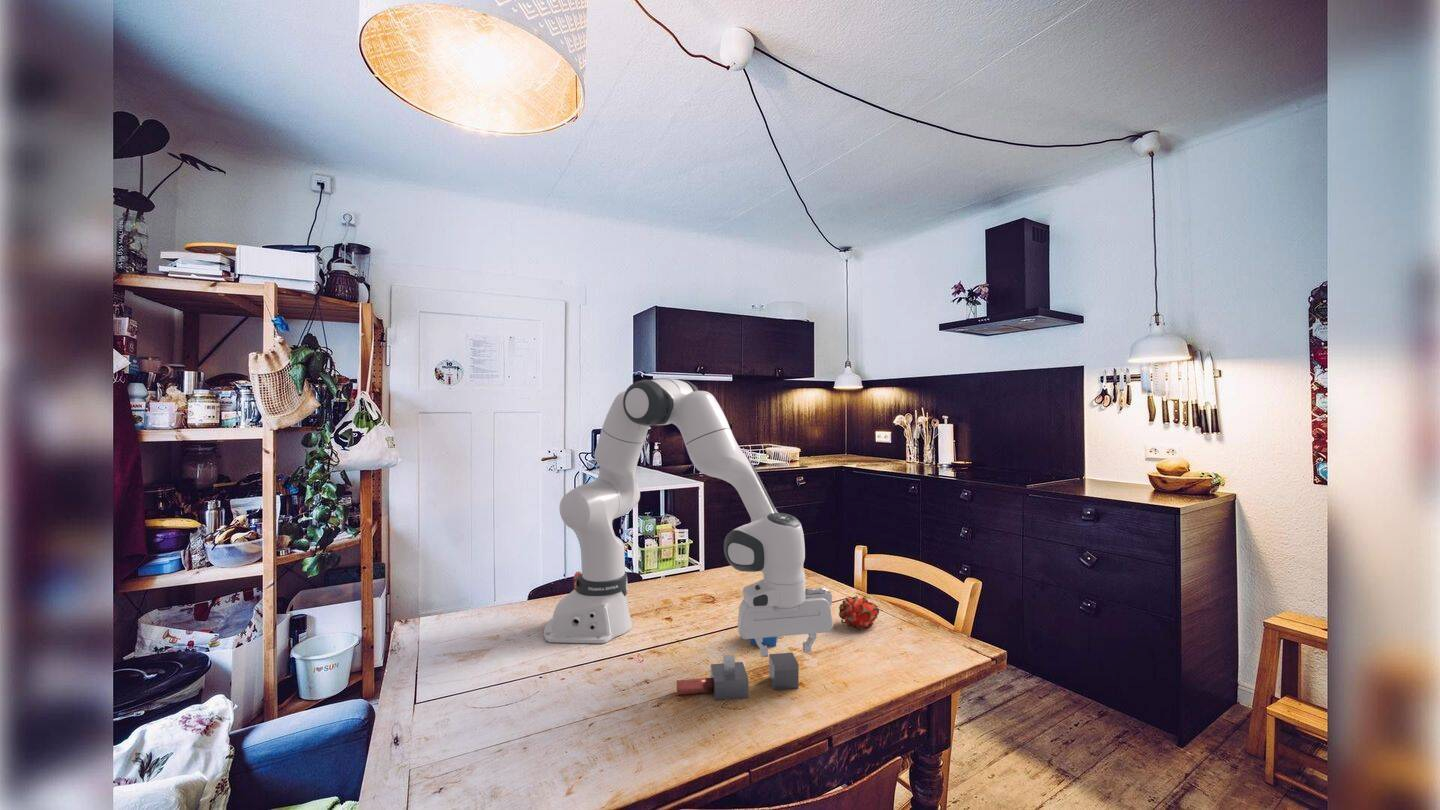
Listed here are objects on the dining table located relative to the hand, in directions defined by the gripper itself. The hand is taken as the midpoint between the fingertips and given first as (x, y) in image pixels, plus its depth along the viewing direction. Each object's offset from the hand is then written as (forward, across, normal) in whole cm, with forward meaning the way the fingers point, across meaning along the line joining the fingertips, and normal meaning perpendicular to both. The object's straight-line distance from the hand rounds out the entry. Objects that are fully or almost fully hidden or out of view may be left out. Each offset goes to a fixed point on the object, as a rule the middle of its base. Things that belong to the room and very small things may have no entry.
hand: (785, 653), depth 126 cm
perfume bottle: (+7, 0, -20) cm, 21 cm away
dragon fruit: (+7, -26, -24) cm, 36 cm away
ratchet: (+6, +16, +1) cm, 17 cm away
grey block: (+6, 0, 0) cm, 7 cm away
